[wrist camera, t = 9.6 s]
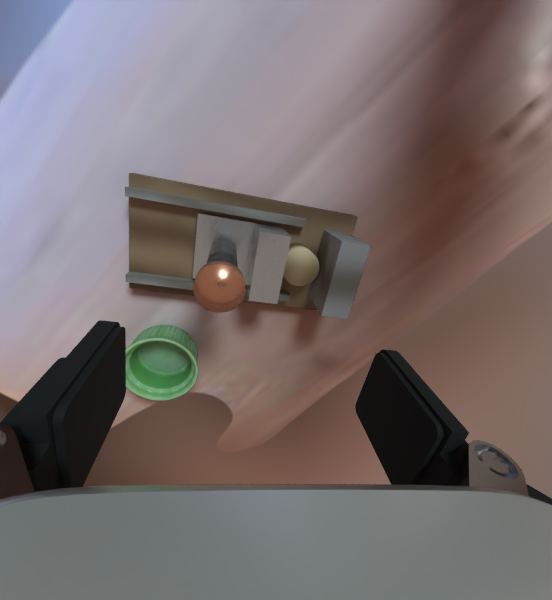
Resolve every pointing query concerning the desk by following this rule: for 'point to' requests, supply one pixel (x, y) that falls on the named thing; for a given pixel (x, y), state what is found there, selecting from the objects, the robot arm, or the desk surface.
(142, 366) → the ramekin
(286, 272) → the beige rounded dome
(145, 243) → the press frame
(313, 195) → the desk surface
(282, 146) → the desk surface
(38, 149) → the desk surface
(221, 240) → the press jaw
